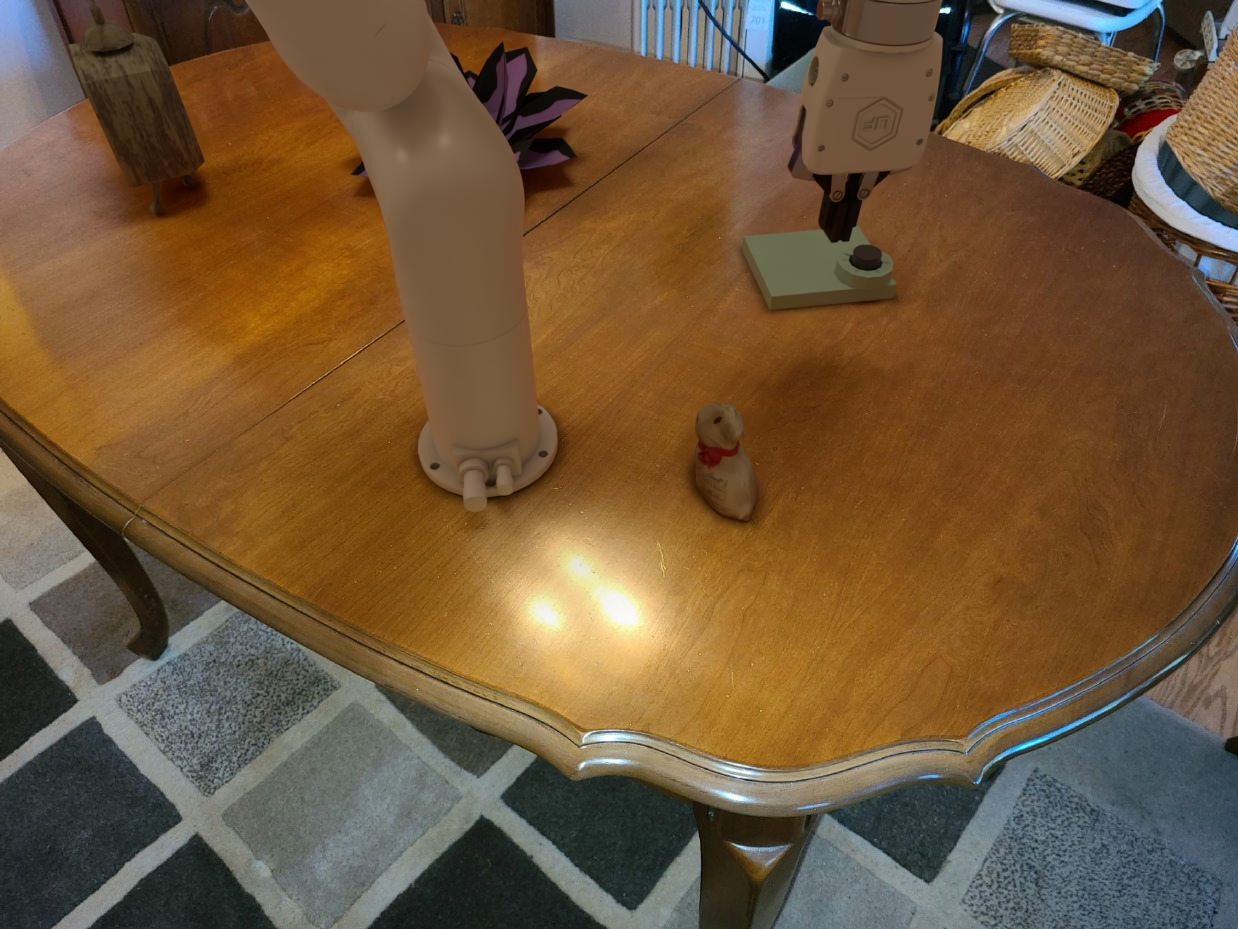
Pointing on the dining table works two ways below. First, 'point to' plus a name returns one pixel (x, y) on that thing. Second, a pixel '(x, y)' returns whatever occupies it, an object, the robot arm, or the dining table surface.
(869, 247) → the button
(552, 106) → the decorative flower
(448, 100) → the robot arm
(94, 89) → the tabletop clock
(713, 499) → the chocolate bunny
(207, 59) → the dining table surface
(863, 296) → the scale
